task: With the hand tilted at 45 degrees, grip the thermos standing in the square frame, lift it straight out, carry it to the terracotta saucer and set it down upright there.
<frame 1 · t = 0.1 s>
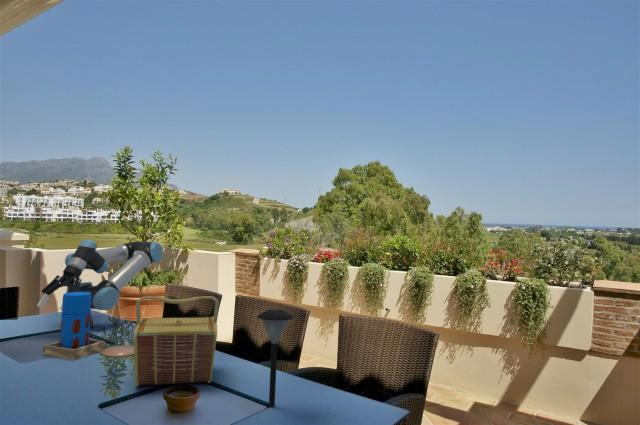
hand: (50, 308, 211), 15 cm above the table, tool tilted 35°, fingers open, 13 cm apart
saucer: (121, 351, 201), on the table
square frame: (74, 352, 197), on the table
picnic basket: (174, 379, 170), on the table
thermos: (74, 353, 197), resting in square frame
solar garden light: (271, 406, 148), on the table
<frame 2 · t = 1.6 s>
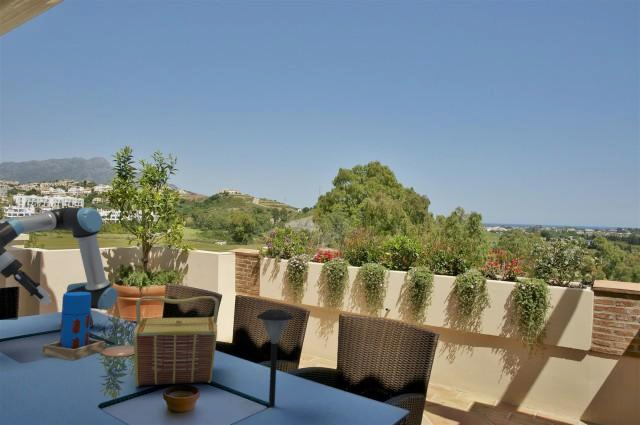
hand: (48, 301, 192), 22 cm above the table, tool tilted 45°, fingers open, 13 cm apart
nothing on the table moved.
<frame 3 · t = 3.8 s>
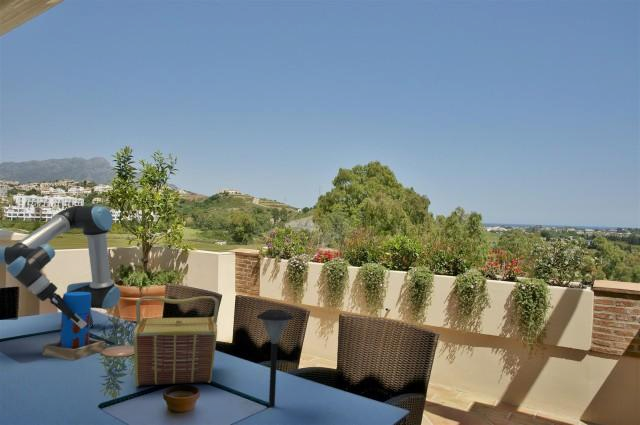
hand: (83, 323, 199), 12 cm above the table, tool tilted 45°, fingers closed on thermos, 11 cm apart
thermos: (74, 353, 197), resting in square frame, touching gripper
everything else where it was.
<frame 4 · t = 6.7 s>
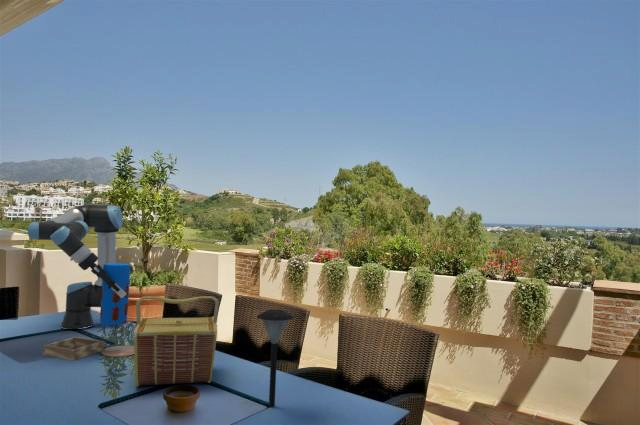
hand: (122, 293, 201), 25 cm above the table, tool tilted 45°, fingers closed on thermos, 11 cm apart
thermos: (113, 323, 199), point 13 cm above the table, touching gripper
everything else where it was.
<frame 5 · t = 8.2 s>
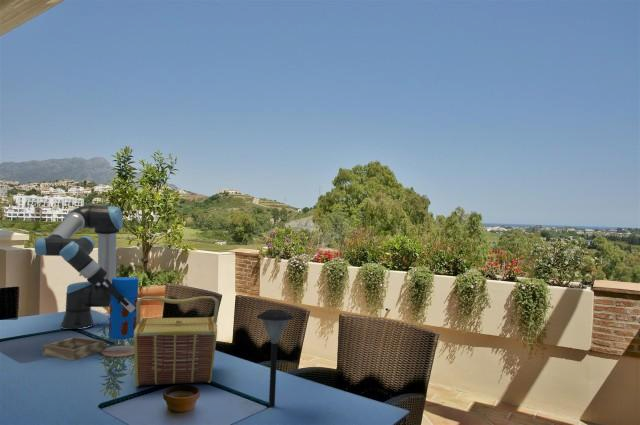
hand: (130, 308, 203), 19 cm above the table, tool tilted 45°, fingers closed on thermos, 11 cm apart
thermos: (122, 337, 201), point 6 cm above the table, touching gripper
everything else where it was.
when the fingers open (15 cm above the table, at t = 9.6 s): thermos drops 2 cm, resting on saucer.
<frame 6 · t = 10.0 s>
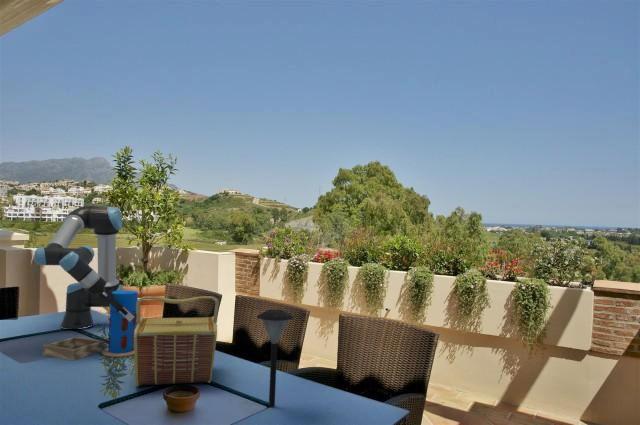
hand: (129, 316, 203), 15 cm above the table, tool tilted 45°, fingers open, 13 cm apart
thermos: (121, 350, 201), resting on saucer
everything else where it was.
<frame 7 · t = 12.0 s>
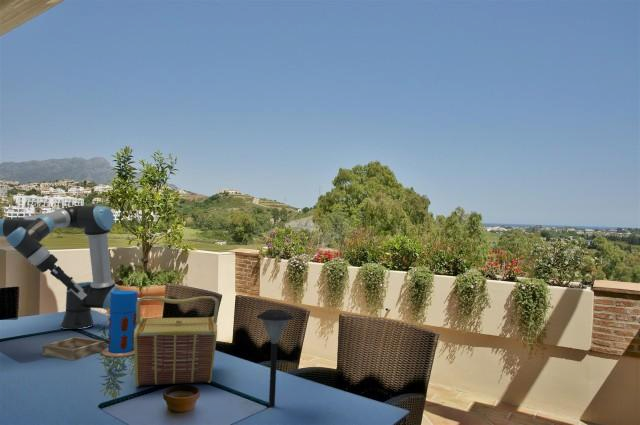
hand: (82, 294, 196), 25 cm above the table, tool tilted 45°, fingers open, 13 cm apart
nothing on the table moved.
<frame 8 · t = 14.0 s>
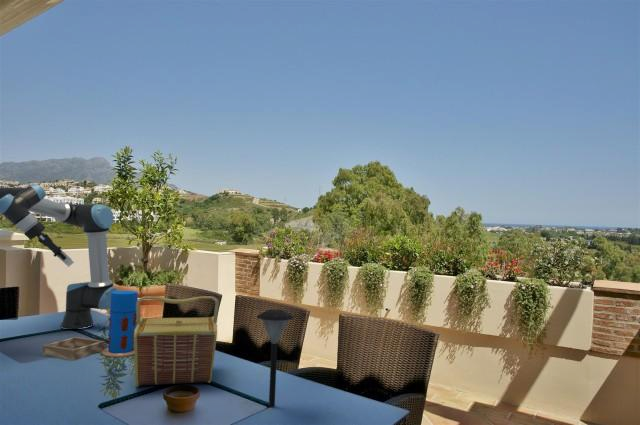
hand: (70, 263, 199), 38 cm above the table, tool tilted 45°, fingers open, 13 cm apart
nothing on the table moved.
at the end: thermos 0.3 cm from the saucer (horizontally); thermos tilted 0°; the gripper is holding nothing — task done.
